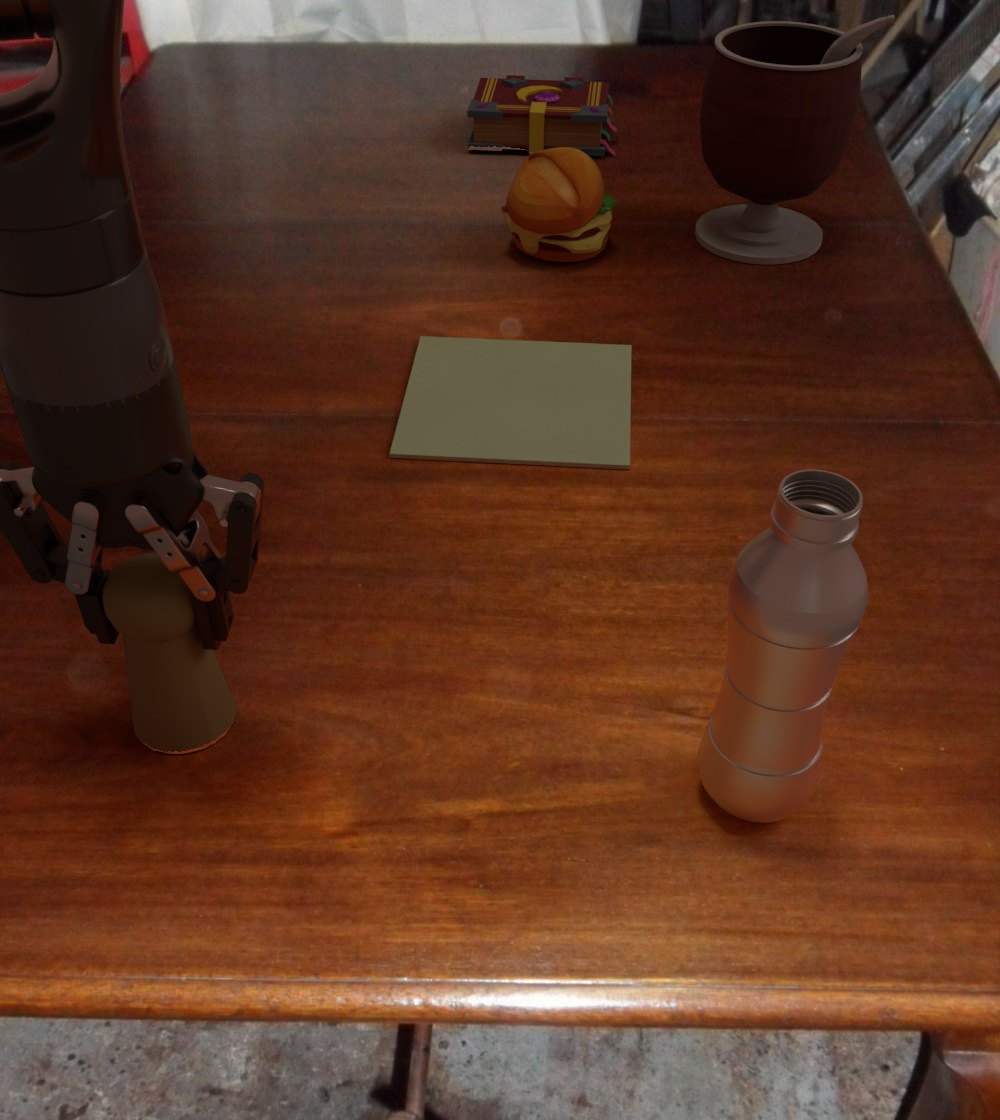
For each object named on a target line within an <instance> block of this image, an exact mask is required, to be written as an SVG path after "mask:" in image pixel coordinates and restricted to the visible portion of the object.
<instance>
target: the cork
mask: <svg viewBox="0 0 1000 1120" xmlns="http://www.w3.org/2000/svg"><path fill="white" fill-rule="evenodd" d="M193 598H194V595H193V593H192V592H191V591H190V589H189V588H188V586H187V585H186V584H185V582H184V581H183V579H182V578H181V577H180V575H179V574H178V573H177V572H174V573H172V572H170V571H169V570H168V569H167V567H166V566H165V564H164V563H163V562H162V560H161V559H160V558H159V556H158V555H157V553H156V552H147V553H142V554H137V555H134V556H132V557H129V558H126V559H124V560H123V561H121V562H119V563H118V564H117V565H115V566H114V567H113V569H112V570H110V573H109V575H108V577H107V579H106V581H105V584H104V587H103V590H102V600H103V606H104V610H105V613H106V616H107V618H108V619H109V620H110V622H111V623H112V625H113V626H114V627H115V629H116V630H117V631H118V632H120V633H119V634H122V643H123V652H124V661H125V667H126V668H125V669H126V679H127V685H128V693H129V703H130V711H131V718H132V727H133V726H134V727H133V732H135V733H136V735H137V736H138V737H139V739H140V740H141V742H143V743H145V744H147V745H148V746H150V747H151V748H153V749H157V750H158V749H159V750H160V751H161V750H162V751H164V752H165V751H166V752H168V751H171V752H174V751H178V752H181V751H186V750H191V749H195V748H198V747H202V746H203V745H204V744H209V743H210V742H211V741H212V740H214V741H215V740H216V738H218V737H219V736H220V735H222V734H223V733H224V732H226V731H227V730H228V728H229V727H230V726H231V725H232V723H233V722H234V718H235V715H236V716H237V714H236V710H237V707H236V703H235V702H236V701H235V699H234V697H233V695H232V692H231V690H230V687H229V685H228V683H227V680H226V678H225V676H224V675H225V674H224V673H223V671H222V668H221V665H220V663H219V660H218V658H217V656H216V654H215V650H207V649H204V648H203V644H202V640H201V636H200V632H199V628H198V624H197V619H196V615H195V611H194V607H193V603H192V600H193ZM135 733H134V734H135ZM136 735H135V736H136ZM141 742H140V743H141Z"/></svg>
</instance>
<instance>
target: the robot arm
mask: <svg viewBox="0 0 1000 1120" xmlns="http://www.w3.org/2000/svg"><path fill="white" fill-rule="evenodd" d="M125 1H126V0H0V43H3V42H12V41H13V42H15V41H16V42H17V41H27V40H35V38H37V37H38V38H39V39H45V40H48V39H49V40H51V42H52V52H51V55H50V58H49V60H48V62H47V63H46V65H45V67H44V69H43V70H42V71H41V73H40V74H39V75H38V76H37V77H35V79H32V80H31V81H29V82H27V83H25V84H24V85H22V86H20V87H17V88H15V89H13V90H10V91H7V92H4V93H2V94H0V373H1V375H2V379H3V381H4V385H5V388H6V390H7V394H8V397H9V399H10V403H11V405H12V409H13V412H14V415H15V419H16V421H17V424H18V427H19V430H20V433H21V436H22V439H23V441H24V445H25V448H26V451H27V455H28V456H29V459H30V461H31V462H32V464H33V465H34V466H31V467H25V468H22V467H21V466H20V465H19V464H18V463H16V462H14V461H11V460H6V461H3V462H2V463H1V464H0V531H1V532H2V534H3V535H4V537H5V538H6V540H7V541H8V543H9V545H10V547H11V548H12V550H13V551H14V553H15V554H16V556H17V557H18V559H19V561H20V563H21V564H22V566H23V568H24V569H25V571H26V572H27V575H28V576H29V577H30V578H31V579H32V581H34V582H36V583H39V584H42V585H43V584H48V583H50V582H51V581H52V580H53V581H55V582H58V583H59V582H60V583H63V584H64V585H65V587H66V589H67V590H68V591H69V592H71V593H72V594H74V596H75V597H74V598H75V600H76V602H77V606H78V609H79V612H80V614H81V615H80V616H81V618H82V620H83V621H82V622H83V624H84V628H86V630H87V631H88V632H89V633H90V634H91V635H96V638H97V642H98V643H99V644H102V645H103V644H104V645H115V644H116V641H117V639H118V637H119V635H120V634H121V633H120V632H118V631H117V630H116V629H115V627H114V626H113V625H112V623H111V622H110V620H109V619H108V618H107V616H106V613H105V610H104V606H103V600H102V590H103V587H104V584H105V581H106V579H107V577H108V575H109V573H110V572H111V570H110V569H105V568H104V569H103V566H102V564H103V561H104V556H105V551H106V549H119V548H125V547H134V548H136V549H137V548H138V549H142V550H144V551H154V553H157V555H158V556H159V558H160V559H161V560H162V562H163V563H164V564H165V566H166V567H167V569H168V570H169V571H170V572H172V573H174V572H177V573H178V574H179V575H180V577H181V578H182V579H183V581H184V582H185V584H186V585H187V586H188V588H189V589H190V591H191V592H192V593H193V595H194V598H193V600H192V603H193V607H194V611H195V615H196V619H197V624H198V628H199V632H200V636H201V640H202V644H203V648H204V649H207V650H213V651H218V650H219V649H220V647H221V644H222V642H227V640H228V638H229V634H230V631H231V628H232V625H233V623H234V619H235V615H234V610H233V605H232V599H231V596H230V593H231V594H235V595H240V594H241V595H242V594H244V593H245V592H247V590H248V588H249V585H250V582H251V579H252V577H253V574H254V571H255V568H256V566H257V563H258V561H259V551H260V543H261V542H260V539H261V530H262V520H263V519H262V517H263V506H264V497H265V496H264V495H265V481H264V479H263V478H262V477H261V476H260V475H259V474H257V473H254V472H245V473H244V474H242V475H241V477H240V479H239V481H237V480H233V479H228V478H224V477H221V476H215V475H211V474H209V472H208V469H207V467H206V466H205V465H204V464H203V463H202V461H201V460H200V459H199V457H198V456H197V454H196V452H195V449H194V447H193V440H192V439H193V438H192V432H191V431H192V430H191V426H190V421H189V417H188V411H187V407H186V402H185V398H184V393H183V388H182V384H181V379H180V374H179V371H178V370H179V369H178V365H177V360H176V356H175V355H176V354H175V351H174V346H173V341H172V337H171V336H172V335H171V333H170V332H171V331H170V328H169V323H168V317H167V313H166V309H165V304H164V301H163V296H162V292H161V290H160V287H159V284H158V281H157V278H156V276H155V273H154V271H153V268H152V265H151V262H150V259H149V256H148V255H149V254H148V252H147V249H146V243H145V237H144V233H143V228H142V224H141V219H140V215H139V211H138V205H137V201H136V196H135V192H134V187H133V183H132V177H131V172H130V167H129V161H128V156H127V150H126V143H125V135H124V125H123V117H122V99H121V98H122V97H121V95H122V90H121V87H122V86H121V81H122V80H121V66H122V65H121V64H122V43H123V41H122V40H123V27H124V15H125V3H126V2H125ZM36 36H37V37H36ZM42 500H44V501H45V502H47V504H48V505H50V506H51V507H52V508H53V509H54V510H55V511H57V512H58V513H59V514H60V515H61V516H62V517H64V519H66V520H67V521H68V522H69V523H70V524H71V530H70V536H69V541H68V545H67V544H66V542H65V540H64V539H63V537H62V535H61V533H60V532H59V530H58V527H56V524H55V522H53V520H52V518H51V516H50V515H49V513H48V511H47V509H46V508H45V506H44V504H43V502H42ZM203 501H204V502H207V503H208V504H209V505H211V507H213V510H214V514H215V517H216V518H217V520H218V524H219V526H220V527H222V528H227V530H226V531H227V533H226V548H225V556H223V555H222V554H221V553H220V552H219V550H218V548H217V547H216V546H215V544H214V542H213V541H212V540H211V538H210V534H209V533H210V532H209V527H208V525H207V523H206V521H205V520H204V518H203V517H202V516H201V514H200V513H199V511H198V510H197V509H198V508H199V506H200V504H201V503H202V502H203Z"/></svg>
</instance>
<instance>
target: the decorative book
mask: <svg viewBox="0 0 1000 1120" xmlns="http://www.w3.org/2000/svg"><path fill="white" fill-rule="evenodd" d="M609 90H610V82H608V81H607V82H605V81H584V77H572V76H571V77H569V76H568V77H567V76H565V77H564V79H563V80H556V79H555V80H553V79H552V80H551V79H550V80H548V79H526V75H515V74H513V75H512V74H507V75H506V77H505V78H500V77H499V78H498V77H480V78H479V81H478V84H477V87H476V89H475V93H474V95H473V98H470V99H471V100H470V101H469V105H468V108H467V110H466V111H467V112H466V114H467V117H466V118H467V119H473V121H472V122H473V131H471V133H470V135H469V136H470V137H469V140H468V143H467V148H468V147H470V146H474V147H478V146H479V147H488V146H489V147H493V146H496V147H503V146H505V147H511V148H520V149H525V150H529V151H528V153H529V152H537V151H542V150H546V149H551V148H559V147H570V148H575V149H579V150H581V151H582V152H584V153H586V154H587V155H588V156H589V157H590V156H593V157H605V156H606V155H605V154H606V149H607V151H608V152H609V153H610V154H611V155H613V157H616V153H617V152H616V150H614V149H613V148H611V147H610V145H609V144H608V142H607V139H608V141H609V142H610V141H611V135H610V134H609V132H608V131H607V124H608V126H609V128H610V129H611V130H612V131H613V132H614V133H617V132H618V128H617V127H616V126H615V125H613V124H612V118H610V117H609V116H608V114H609V113H610V114H611V115H613V109H612V108H611V107H610V105H611V106H613V99H612V97H611V95H610V94H609ZM609 102H610V105H609Z"/></svg>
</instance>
